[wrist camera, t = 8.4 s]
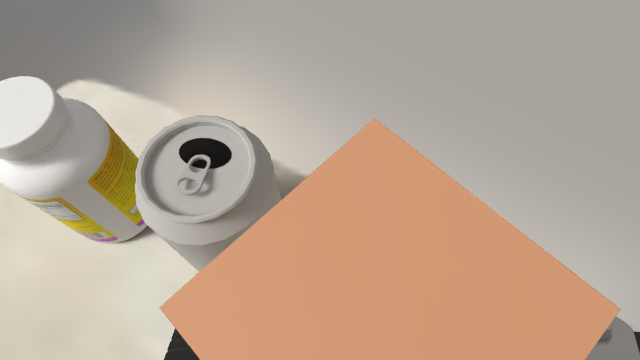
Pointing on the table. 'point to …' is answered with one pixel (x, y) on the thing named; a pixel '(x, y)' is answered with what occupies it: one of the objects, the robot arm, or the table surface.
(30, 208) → the table surface
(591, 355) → the robot arm
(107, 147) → the supplement bottle
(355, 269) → the orange rectangular block
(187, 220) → the can
